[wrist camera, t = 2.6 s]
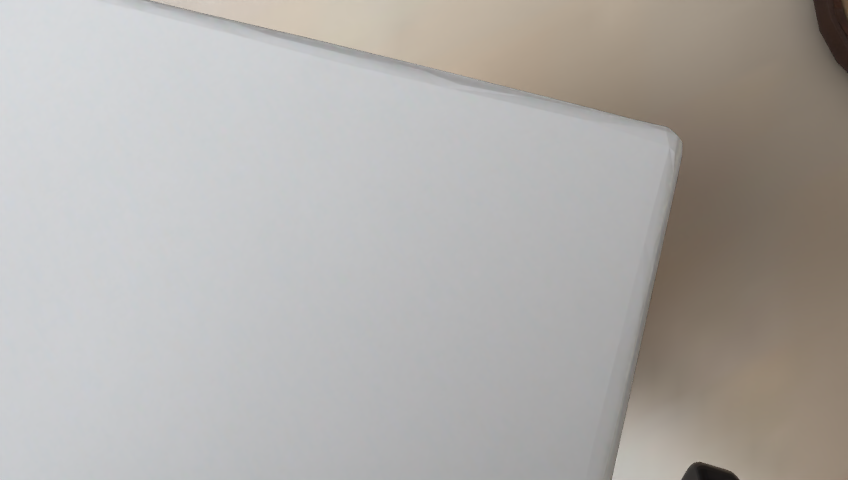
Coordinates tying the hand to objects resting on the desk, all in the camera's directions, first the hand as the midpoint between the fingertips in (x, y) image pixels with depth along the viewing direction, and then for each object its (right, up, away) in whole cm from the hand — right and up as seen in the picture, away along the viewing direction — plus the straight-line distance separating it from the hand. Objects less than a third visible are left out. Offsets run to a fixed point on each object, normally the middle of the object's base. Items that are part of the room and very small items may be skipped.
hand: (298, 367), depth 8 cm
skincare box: (0, -2, +8) cm, 8 cm away
